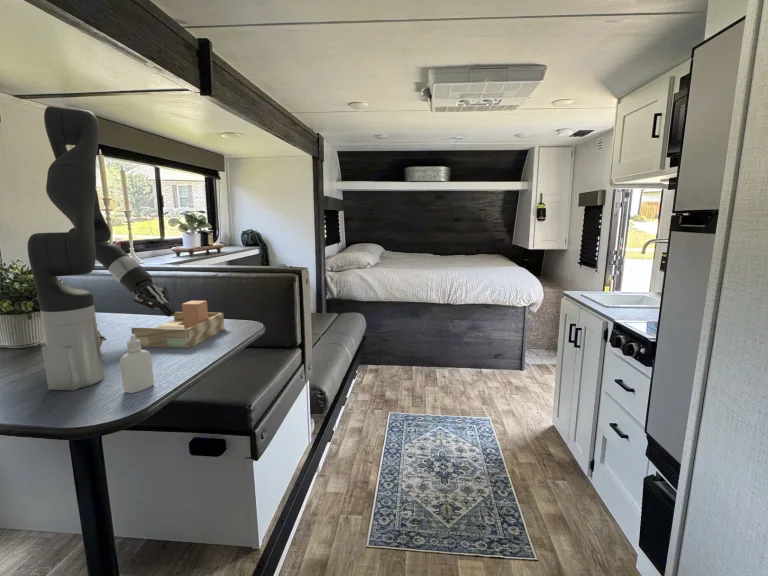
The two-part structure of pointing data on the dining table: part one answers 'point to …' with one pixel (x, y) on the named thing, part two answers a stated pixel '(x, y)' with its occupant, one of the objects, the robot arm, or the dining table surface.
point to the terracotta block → (194, 313)
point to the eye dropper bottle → (136, 367)
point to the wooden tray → (179, 332)
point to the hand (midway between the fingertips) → (172, 314)
